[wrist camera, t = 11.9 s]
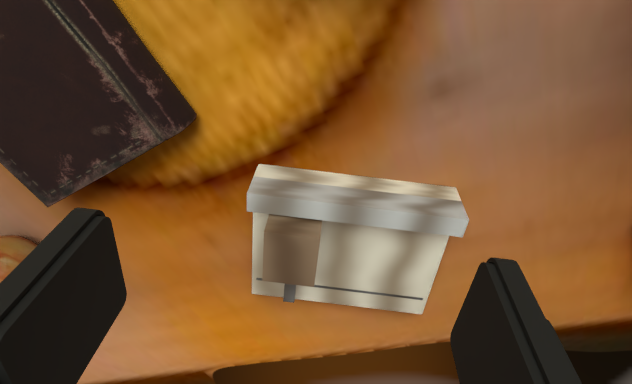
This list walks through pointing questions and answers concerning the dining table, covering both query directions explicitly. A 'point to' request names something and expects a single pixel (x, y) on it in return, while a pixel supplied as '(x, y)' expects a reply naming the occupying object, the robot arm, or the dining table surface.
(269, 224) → the block
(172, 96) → the diary
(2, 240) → the onion
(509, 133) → the dining table surface
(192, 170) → the dining table surface
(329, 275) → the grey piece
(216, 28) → the dining table surface
